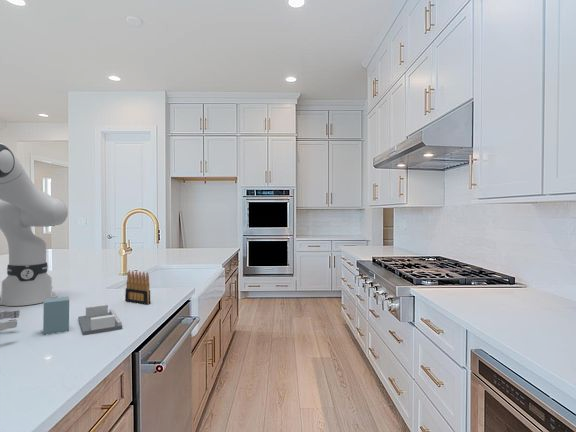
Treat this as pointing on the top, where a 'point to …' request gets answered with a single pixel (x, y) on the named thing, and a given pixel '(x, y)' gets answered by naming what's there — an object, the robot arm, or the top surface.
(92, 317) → the mounting board
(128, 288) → the ammunition clip
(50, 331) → the block
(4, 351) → the top surface
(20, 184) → the robot arm
